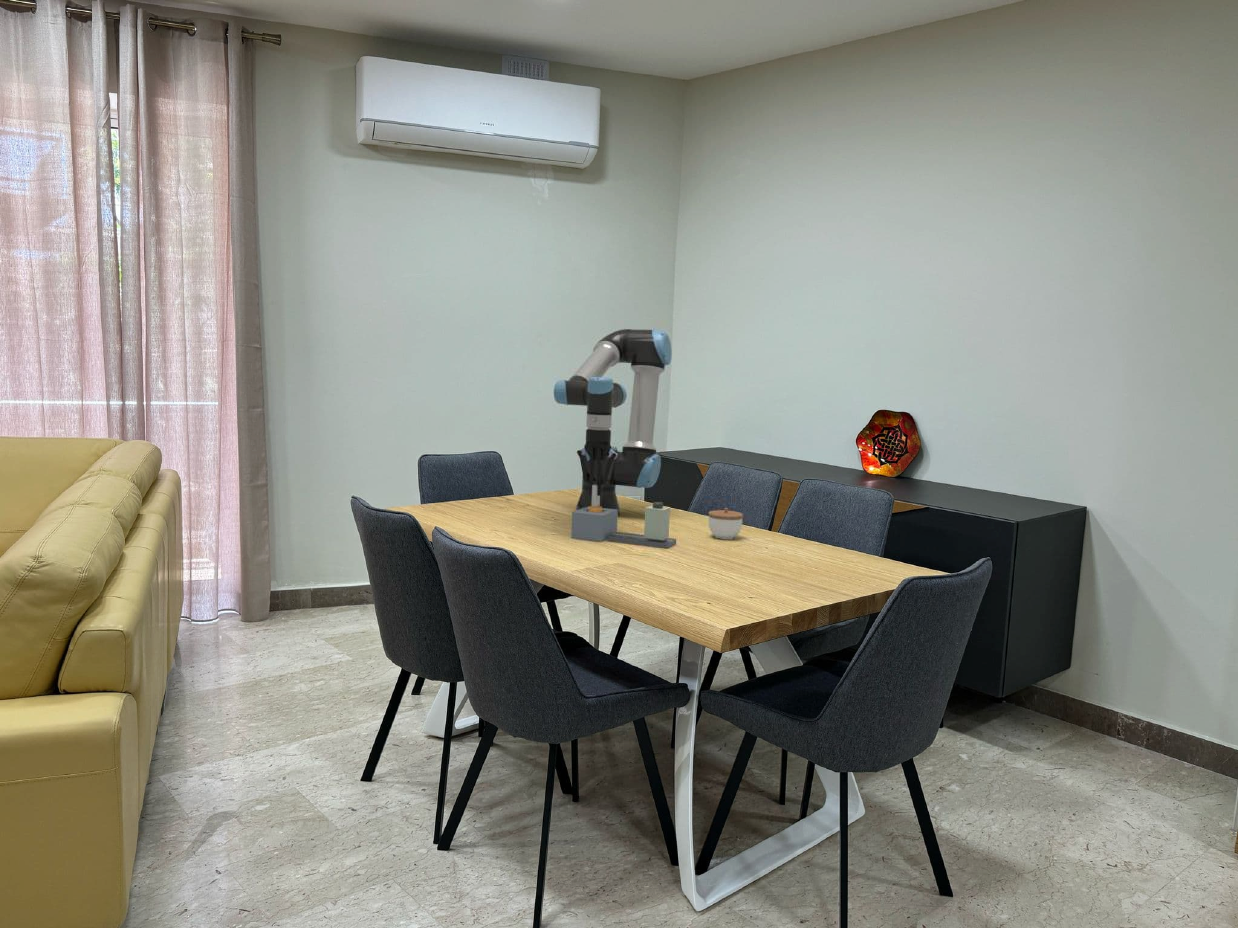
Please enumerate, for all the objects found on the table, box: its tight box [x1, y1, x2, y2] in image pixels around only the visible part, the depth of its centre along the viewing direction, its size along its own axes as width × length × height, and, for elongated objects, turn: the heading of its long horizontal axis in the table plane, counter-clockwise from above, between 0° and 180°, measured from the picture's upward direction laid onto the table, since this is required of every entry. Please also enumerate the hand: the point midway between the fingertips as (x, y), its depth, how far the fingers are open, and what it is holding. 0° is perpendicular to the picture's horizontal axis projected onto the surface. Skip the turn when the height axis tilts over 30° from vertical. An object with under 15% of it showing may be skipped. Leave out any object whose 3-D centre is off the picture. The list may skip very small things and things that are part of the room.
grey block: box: [570, 506, 619, 543], centre depth 286 cm, size 10×12×8 cm
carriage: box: [643, 501, 671, 540], centre depth 279 cm, size 6×5×10 cm
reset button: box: [589, 506, 602, 513], centre depth 286 cm, size 4×4×6 cm
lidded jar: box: [708, 507, 744, 540], centre depth 294 cm, size 11×11×9 cm
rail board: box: [607, 531, 677, 550], centre depth 281 cm, size 19×8×2 cm, turn 68°
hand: (595, 505), depth 286 cm, fingers closed
